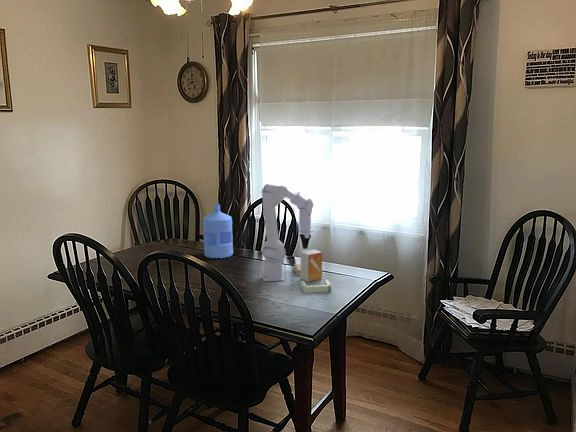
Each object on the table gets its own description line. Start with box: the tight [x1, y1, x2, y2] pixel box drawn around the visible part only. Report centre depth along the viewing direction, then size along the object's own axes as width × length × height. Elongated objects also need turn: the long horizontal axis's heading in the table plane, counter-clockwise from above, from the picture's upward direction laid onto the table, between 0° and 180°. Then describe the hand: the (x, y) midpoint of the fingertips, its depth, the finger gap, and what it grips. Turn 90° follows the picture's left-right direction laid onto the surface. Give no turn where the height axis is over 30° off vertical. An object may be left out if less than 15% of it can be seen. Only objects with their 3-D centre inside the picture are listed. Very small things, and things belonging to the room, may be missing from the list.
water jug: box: [202, 203, 234, 260], centre depth 265 cm, size 16×16×28 cm
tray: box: [300, 279, 332, 294], centre depth 215 cm, size 12×8×2 cm, turn 96°
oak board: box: [294, 263, 301, 277], centre depth 238 cm, size 12×10×3 cm
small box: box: [300, 248, 323, 282], centre depth 227 cm, size 8×6×13 cm
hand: (305, 248), depth 246 cm, fingers closed
